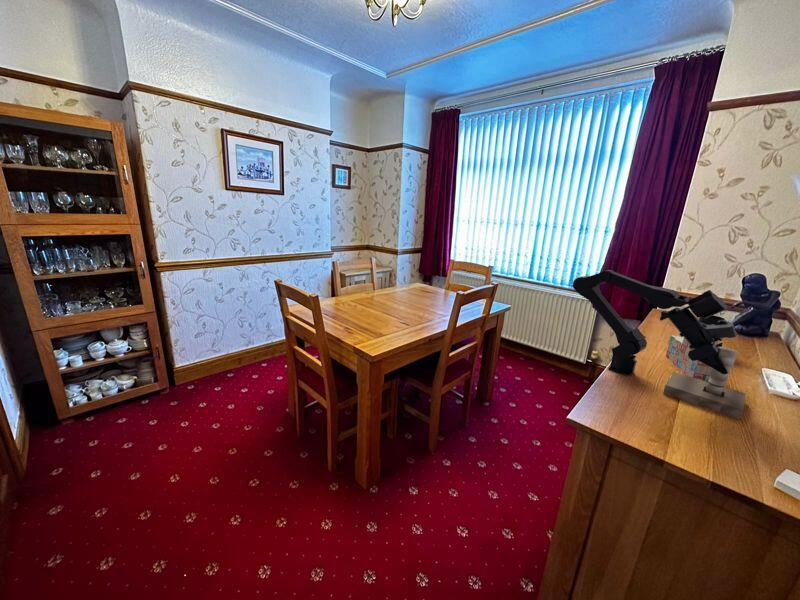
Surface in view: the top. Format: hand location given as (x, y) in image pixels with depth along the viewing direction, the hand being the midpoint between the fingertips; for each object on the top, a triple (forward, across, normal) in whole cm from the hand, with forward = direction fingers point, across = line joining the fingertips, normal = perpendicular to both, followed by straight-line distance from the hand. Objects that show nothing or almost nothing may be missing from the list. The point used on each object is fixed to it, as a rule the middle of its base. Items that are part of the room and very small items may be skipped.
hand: (726, 371), depth 95 cm
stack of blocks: (+1, +23, +14) cm, 27 cm away
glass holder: (+1, +56, +14) cm, 58 cm away
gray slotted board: (+5, 0, +10) cm, 11 cm away
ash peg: (+4, 0, +6) cm, 8 cm away
